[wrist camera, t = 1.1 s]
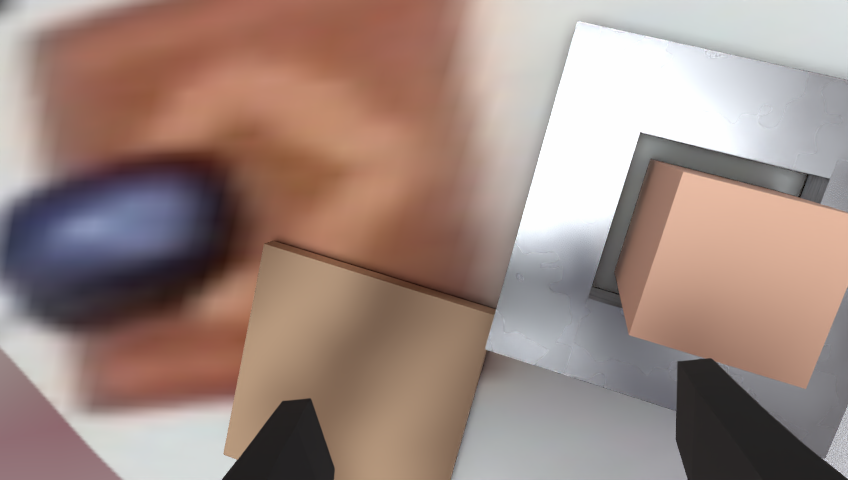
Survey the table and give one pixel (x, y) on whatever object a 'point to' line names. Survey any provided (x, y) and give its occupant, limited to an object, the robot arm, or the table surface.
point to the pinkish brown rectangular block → (733, 271)
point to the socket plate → (601, 188)
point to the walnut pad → (360, 364)
